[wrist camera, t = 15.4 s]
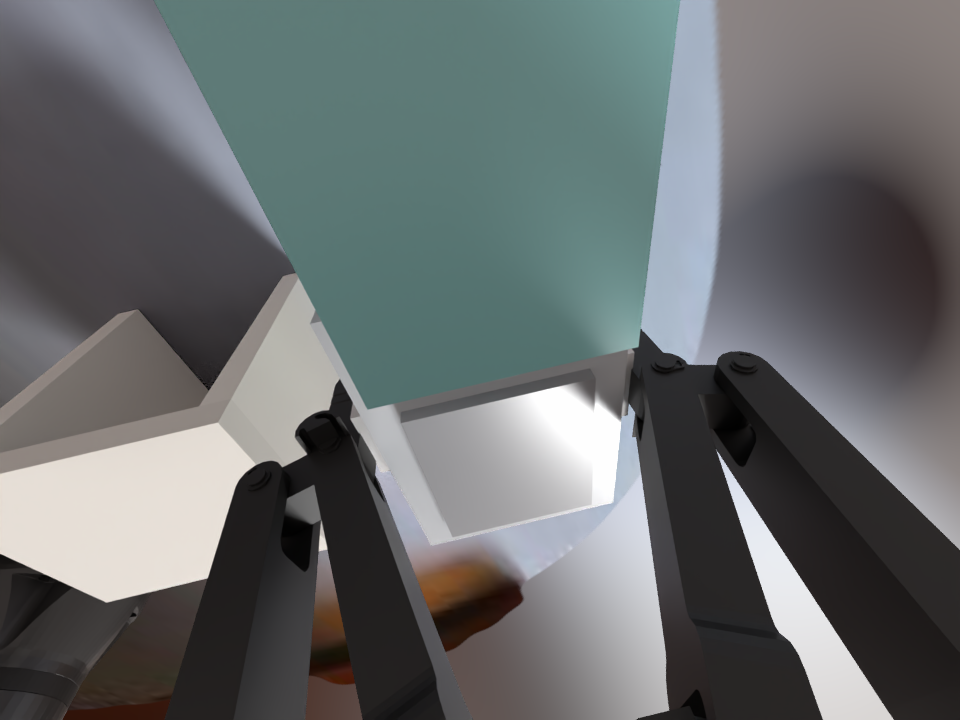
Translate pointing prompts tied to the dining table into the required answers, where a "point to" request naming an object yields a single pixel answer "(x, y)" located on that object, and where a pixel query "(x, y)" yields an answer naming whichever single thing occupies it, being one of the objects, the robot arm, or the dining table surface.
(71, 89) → the dining table surface
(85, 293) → the dining table surface
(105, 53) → the dining table surface
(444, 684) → the robot arm
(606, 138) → the teal-capped white block
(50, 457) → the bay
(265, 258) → the dining table surface
